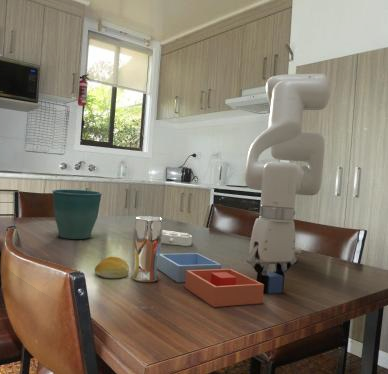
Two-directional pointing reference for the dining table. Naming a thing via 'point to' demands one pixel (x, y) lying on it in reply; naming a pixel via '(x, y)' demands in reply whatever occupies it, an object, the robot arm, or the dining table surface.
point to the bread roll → (112, 268)
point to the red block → (222, 279)
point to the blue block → (274, 283)
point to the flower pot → (76, 212)
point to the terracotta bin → (224, 288)
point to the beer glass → (147, 247)
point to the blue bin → (184, 264)
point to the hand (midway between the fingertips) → (269, 289)
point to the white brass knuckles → (176, 238)
